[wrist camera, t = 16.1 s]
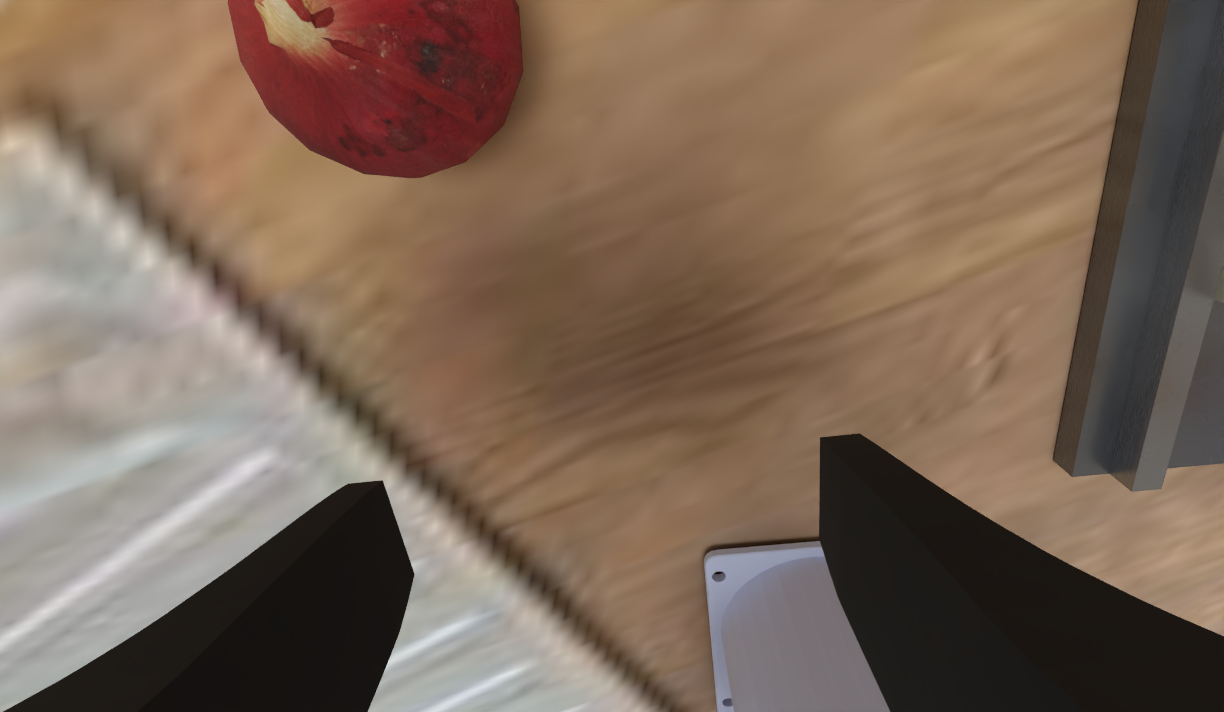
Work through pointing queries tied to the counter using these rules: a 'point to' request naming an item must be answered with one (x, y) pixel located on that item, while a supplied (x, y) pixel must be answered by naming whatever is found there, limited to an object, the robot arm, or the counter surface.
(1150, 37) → the slide base
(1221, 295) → the sliding block
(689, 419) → the counter surface
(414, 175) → the onion
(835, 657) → the robot arm
